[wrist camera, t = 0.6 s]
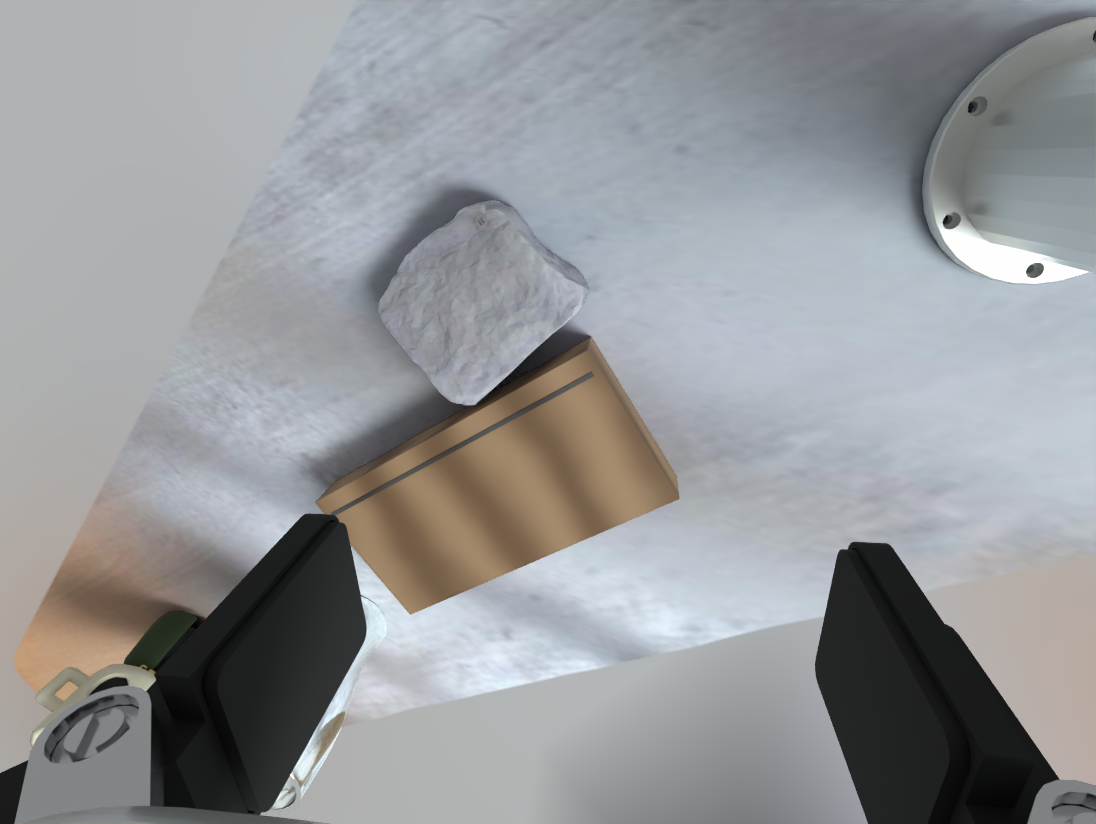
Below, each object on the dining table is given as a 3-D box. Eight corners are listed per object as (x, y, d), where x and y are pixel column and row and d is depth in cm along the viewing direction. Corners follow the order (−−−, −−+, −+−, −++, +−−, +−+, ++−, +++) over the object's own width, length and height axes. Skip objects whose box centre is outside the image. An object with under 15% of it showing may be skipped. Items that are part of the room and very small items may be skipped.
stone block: (390, 303, 41) (482, 408, 41) (351, 307, 36) (454, 424, 36) (502, 178, 37) (604, 294, 37) (474, 165, 32) (590, 298, 32)
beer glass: (351, 656, 54) (253, 824, 40) (304, 603, 52) (184, 761, 38) (407, 634, 51) (323, 805, 38) (360, 578, 49) (254, 736, 36)
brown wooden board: (591, 336, 38) (587, 350, 35) (676, 476, 41) (679, 499, 38) (334, 482, 46) (314, 502, 43) (422, 589, 49) (409, 615, 46)
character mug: (254, 647, 55) (150, 779, 43) (221, 680, 58) (115, 813, 46) (160, 578, 53) (23, 697, 41) (130, 616, 56) (-6, 736, 44)
